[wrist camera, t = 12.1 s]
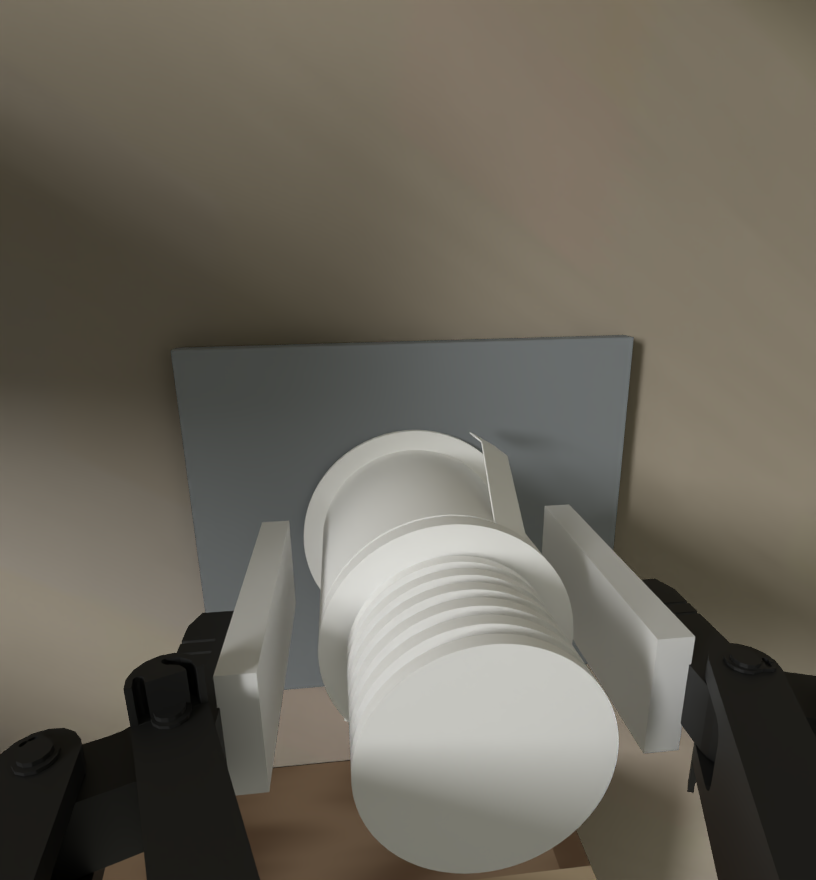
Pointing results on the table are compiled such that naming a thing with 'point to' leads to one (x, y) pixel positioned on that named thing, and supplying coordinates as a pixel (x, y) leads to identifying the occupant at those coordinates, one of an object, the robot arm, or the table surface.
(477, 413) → the rubber mat
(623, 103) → the table surface
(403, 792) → the downlight
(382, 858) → the open wooden box
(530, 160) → the table surface
